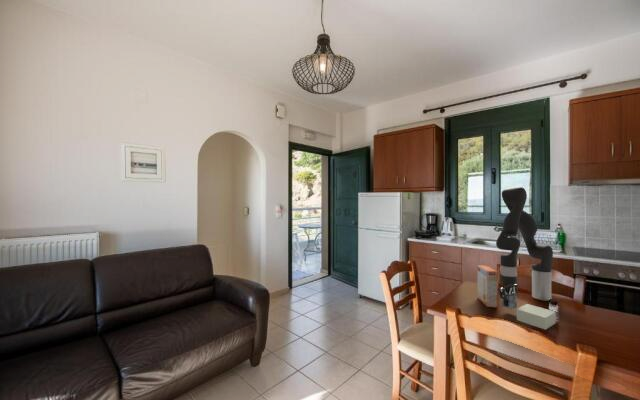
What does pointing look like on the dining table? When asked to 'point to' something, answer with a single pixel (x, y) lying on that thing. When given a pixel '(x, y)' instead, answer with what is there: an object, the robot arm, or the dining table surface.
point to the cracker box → (487, 286)
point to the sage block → (536, 316)
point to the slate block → (511, 301)
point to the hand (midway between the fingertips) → (509, 304)
